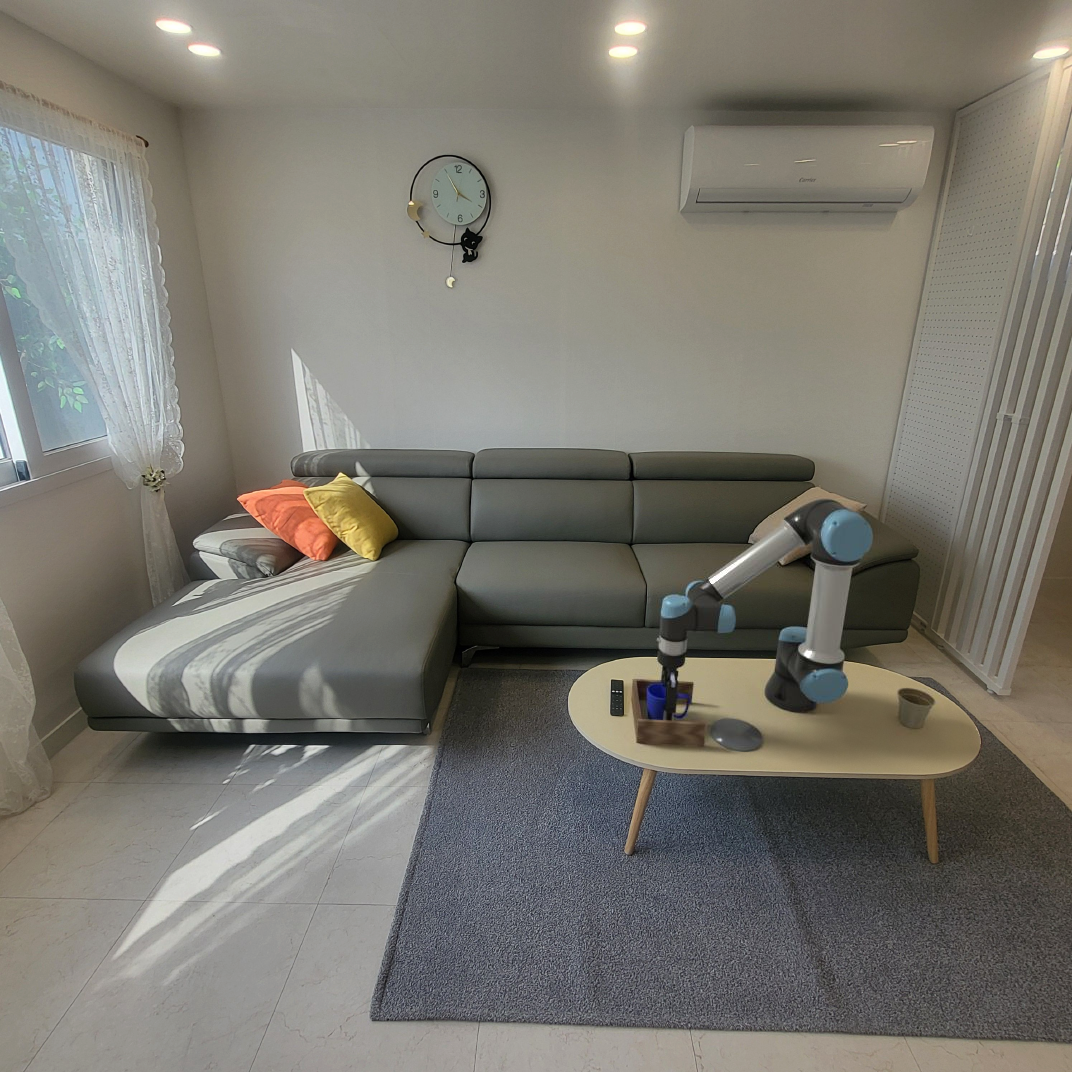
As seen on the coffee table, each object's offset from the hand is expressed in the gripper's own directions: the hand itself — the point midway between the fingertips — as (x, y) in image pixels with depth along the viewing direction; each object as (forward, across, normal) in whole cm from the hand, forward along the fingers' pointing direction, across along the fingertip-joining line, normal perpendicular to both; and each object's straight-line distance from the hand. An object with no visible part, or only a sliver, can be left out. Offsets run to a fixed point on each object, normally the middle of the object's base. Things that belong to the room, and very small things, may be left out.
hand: (665, 720), depth 176 cm
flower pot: (+1, -6, +71) cm, 71 cm away
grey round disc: (0, +4, +19) cm, 19 cm away
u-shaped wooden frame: (0, 0, 0) cm, 0 cm away
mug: (0, 0, 0) cm, 0 cm away
